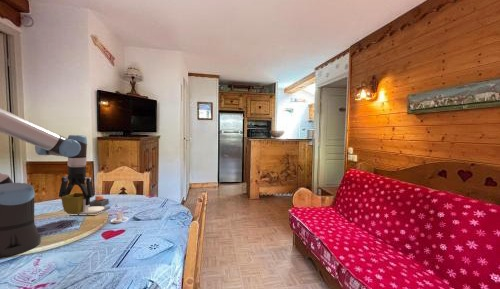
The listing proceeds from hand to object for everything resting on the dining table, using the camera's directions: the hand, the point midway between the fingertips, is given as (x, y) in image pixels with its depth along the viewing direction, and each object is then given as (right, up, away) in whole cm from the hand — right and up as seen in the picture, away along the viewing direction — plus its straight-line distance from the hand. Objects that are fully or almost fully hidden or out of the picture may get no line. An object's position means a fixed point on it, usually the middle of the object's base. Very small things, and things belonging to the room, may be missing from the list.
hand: (76, 211), depth 116 cm
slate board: (-1, -4, +13) cm, 13 cm away
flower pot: (0, -1, 0) cm, 1 cm away
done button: (-4, -1, +24) cm, 24 cm away
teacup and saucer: (+19, -5, -2) cm, 20 cm away
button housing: (-4, -3, +24) cm, 25 cm away
